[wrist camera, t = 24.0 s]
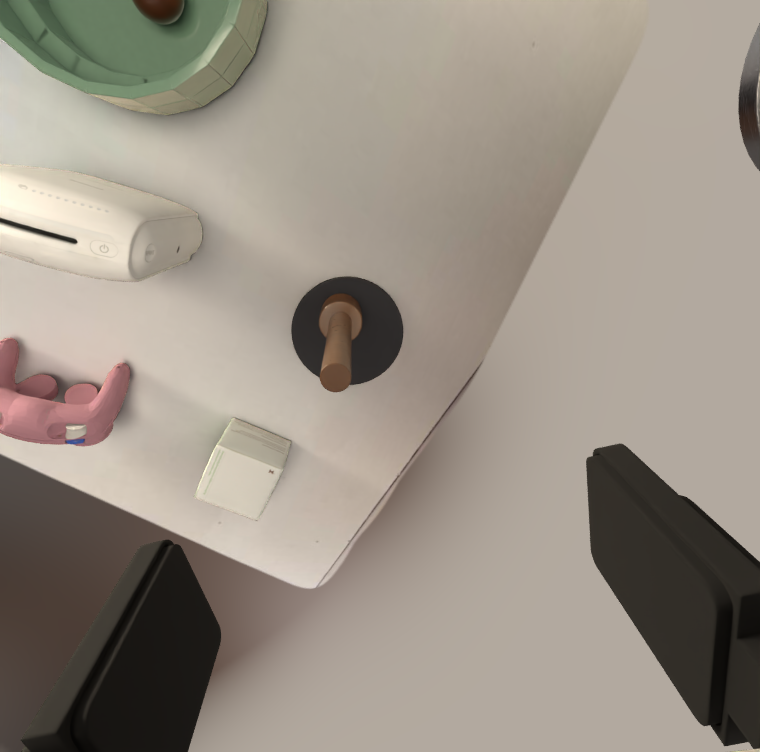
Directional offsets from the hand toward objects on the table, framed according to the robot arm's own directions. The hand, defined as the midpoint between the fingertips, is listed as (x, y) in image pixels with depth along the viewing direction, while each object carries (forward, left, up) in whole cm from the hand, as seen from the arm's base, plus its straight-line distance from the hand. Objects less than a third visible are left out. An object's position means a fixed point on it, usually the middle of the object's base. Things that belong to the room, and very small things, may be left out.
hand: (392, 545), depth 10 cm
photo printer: (+15, -9, -28) cm, 33 cm away
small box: (+13, +12, -28) cm, 33 cm away
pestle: (+2, +1, -28) cm, 28 cm away
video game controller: (+25, +2, -28) cm, 38 cm away
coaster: (+2, +3, -28) cm, 28 cm away
